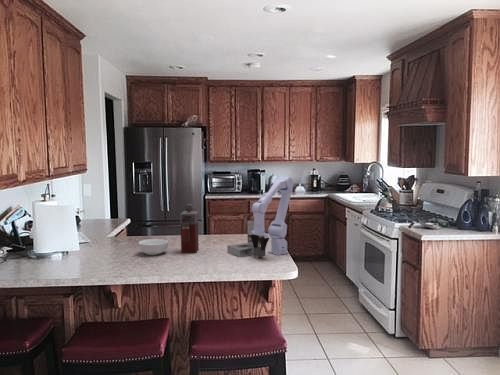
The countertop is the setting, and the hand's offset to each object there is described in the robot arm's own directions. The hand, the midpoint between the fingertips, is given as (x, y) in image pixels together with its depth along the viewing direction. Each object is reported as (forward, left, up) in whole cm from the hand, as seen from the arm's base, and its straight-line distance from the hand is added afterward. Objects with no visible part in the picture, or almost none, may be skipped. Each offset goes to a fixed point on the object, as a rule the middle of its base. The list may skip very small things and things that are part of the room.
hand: (259, 249), depth 233 cm
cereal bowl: (+43, +45, -5) cm, 62 cm away
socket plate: (+14, +2, -5) cm, 15 cm away
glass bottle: (+35, +26, -5) cm, 44 cm away
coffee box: (+27, -15, -5) cm, 31 cm away
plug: (0, 0, -5) cm, 5 cm away
